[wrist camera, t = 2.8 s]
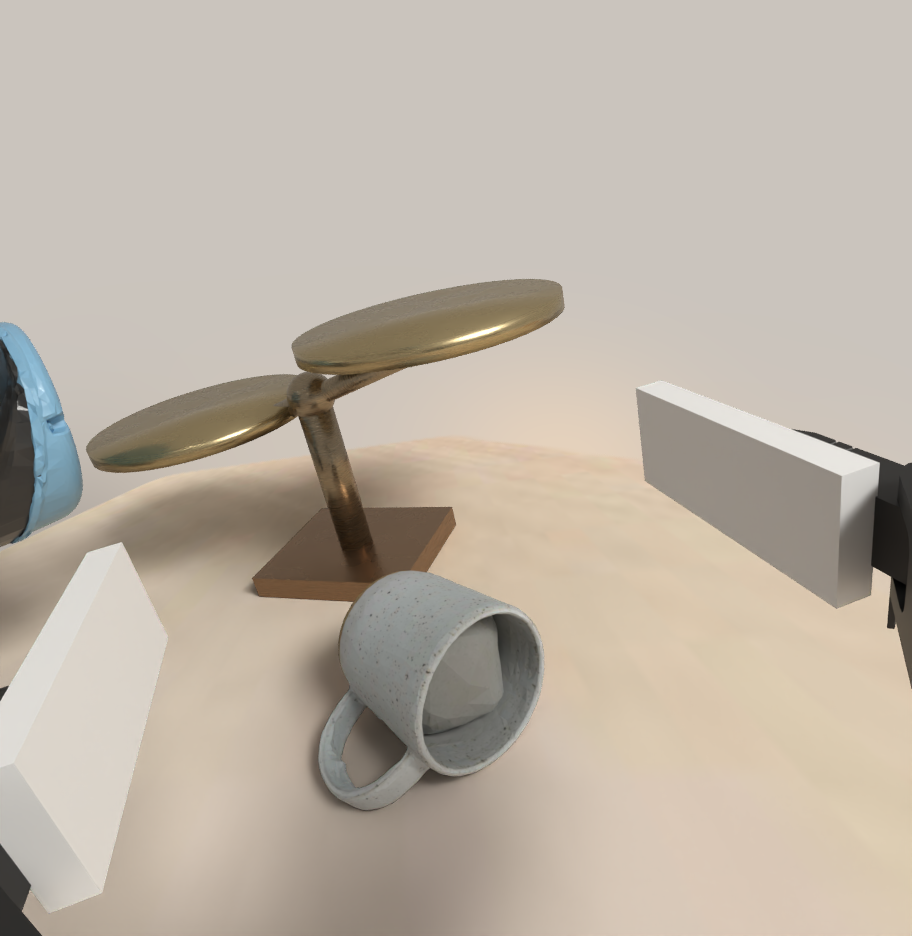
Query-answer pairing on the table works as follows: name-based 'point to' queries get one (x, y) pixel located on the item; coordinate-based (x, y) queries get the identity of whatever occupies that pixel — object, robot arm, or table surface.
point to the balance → (335, 427)
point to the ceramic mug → (431, 681)
